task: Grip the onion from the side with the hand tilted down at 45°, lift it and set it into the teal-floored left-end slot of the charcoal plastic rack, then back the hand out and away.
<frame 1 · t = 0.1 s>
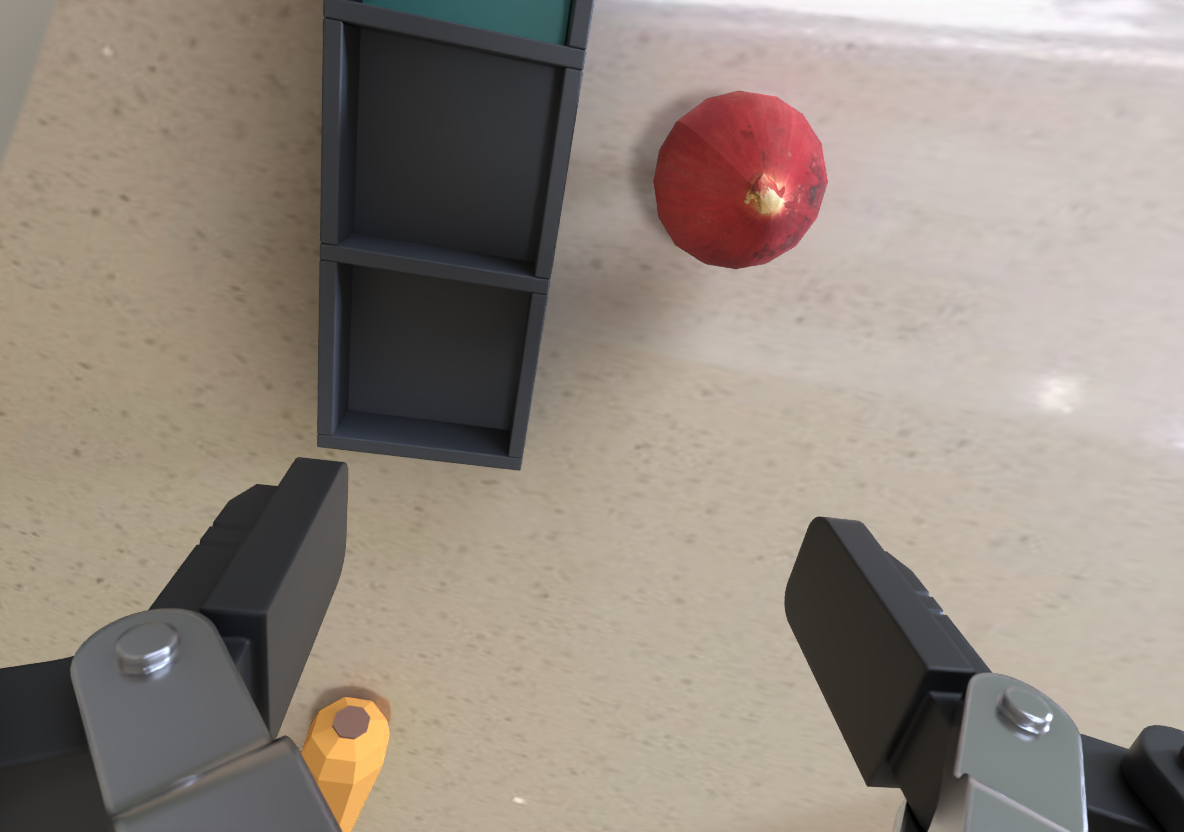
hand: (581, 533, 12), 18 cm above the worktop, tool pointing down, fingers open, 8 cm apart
rack: (456, 152, 26), on the worktop
onion: (711, 171, 27), on the worktop
carrot: (329, 800, 41), on the worktop
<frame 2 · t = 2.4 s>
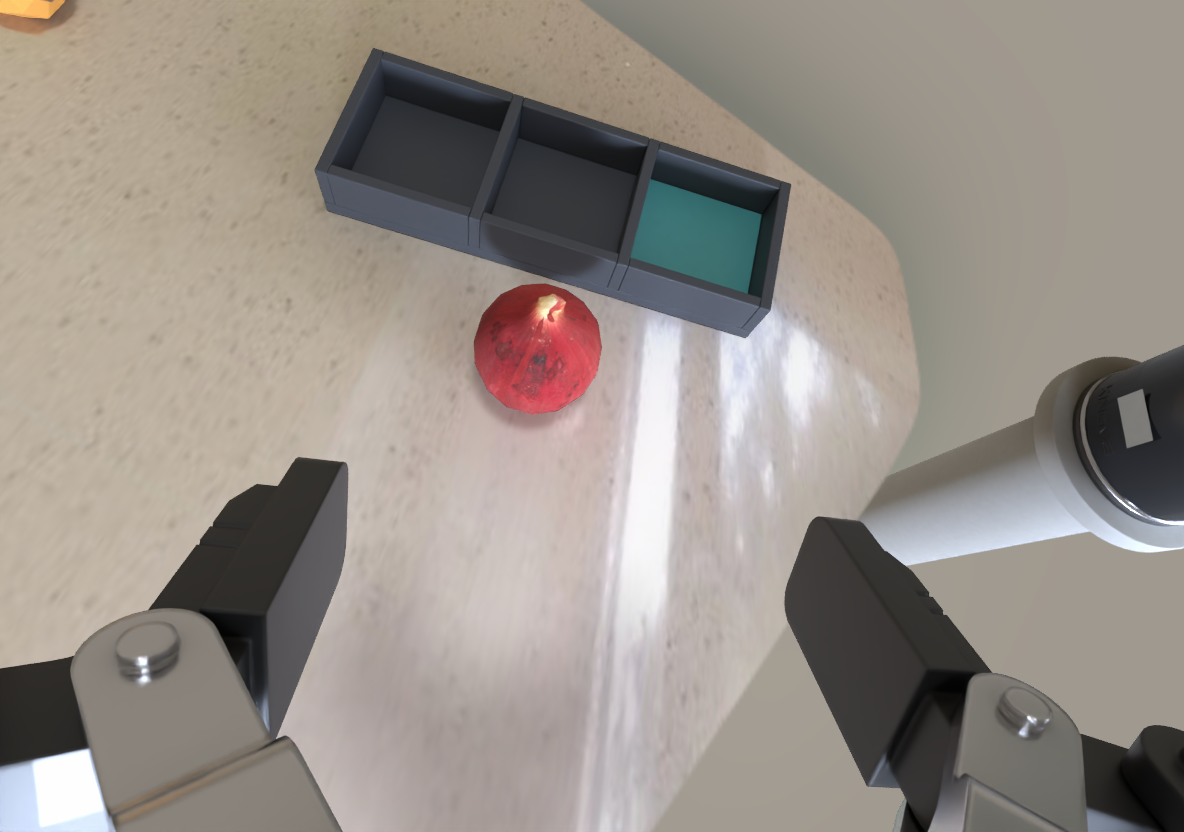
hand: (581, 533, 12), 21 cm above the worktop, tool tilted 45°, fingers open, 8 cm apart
rack: (560, 215, 38), on the worktop
onion: (530, 380, 35), on the worktop
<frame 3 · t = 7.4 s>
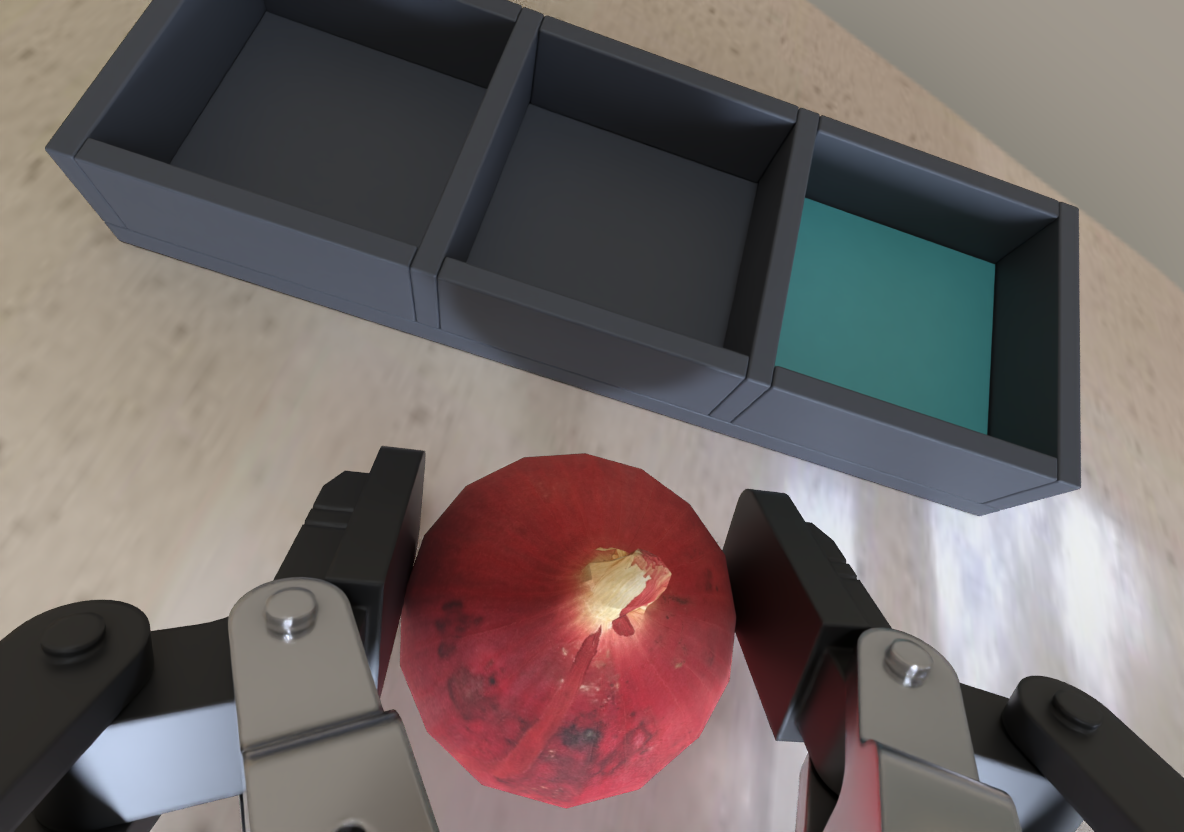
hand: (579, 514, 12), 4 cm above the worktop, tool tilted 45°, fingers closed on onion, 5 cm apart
rack: (609, 257, 19), on the worktop
onion: (542, 626, 16), on the worktop, touching gripper
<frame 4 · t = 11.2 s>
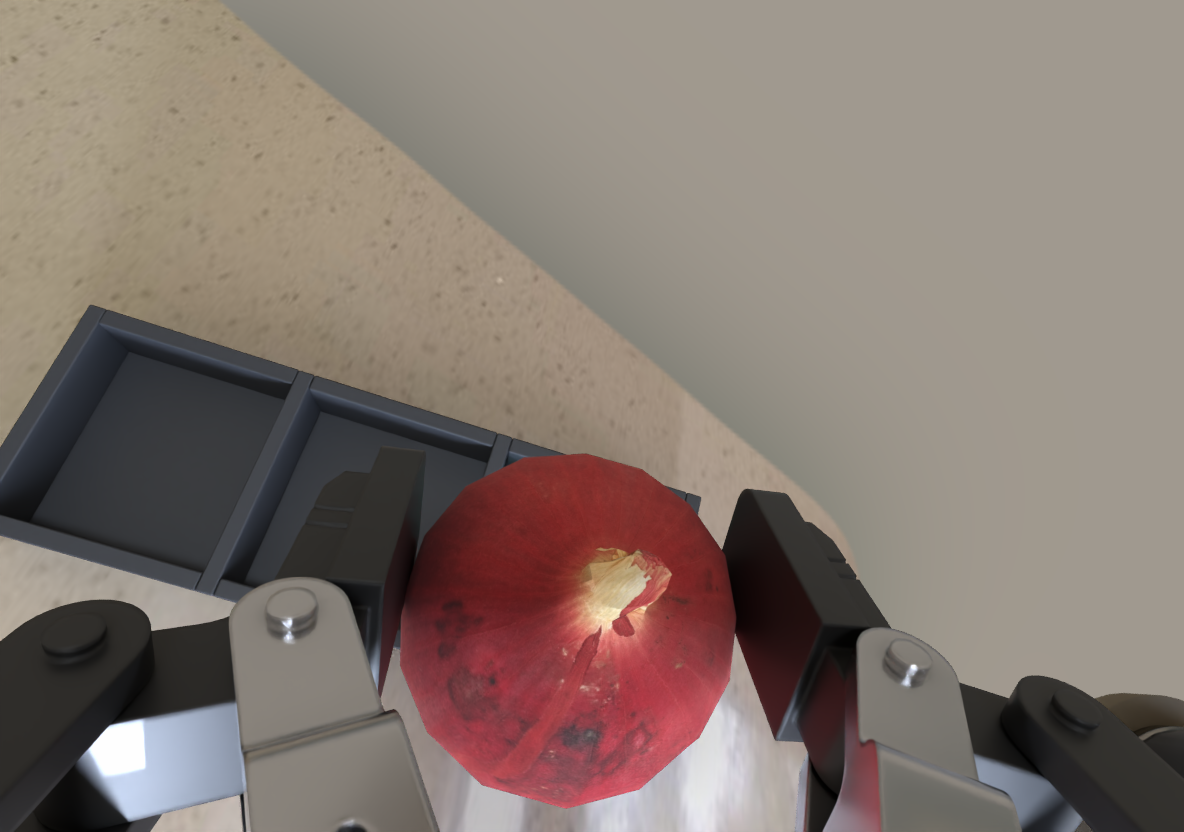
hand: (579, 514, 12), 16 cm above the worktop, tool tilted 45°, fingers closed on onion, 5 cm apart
rack: (376, 524, 27), on the worktop
onion: (542, 626, 16), point 11 cm above the worktop, touching gripper
when the fingers open (5 cm above the worktop, at t = 15.0 s): onion stays where it is, resting on rack.
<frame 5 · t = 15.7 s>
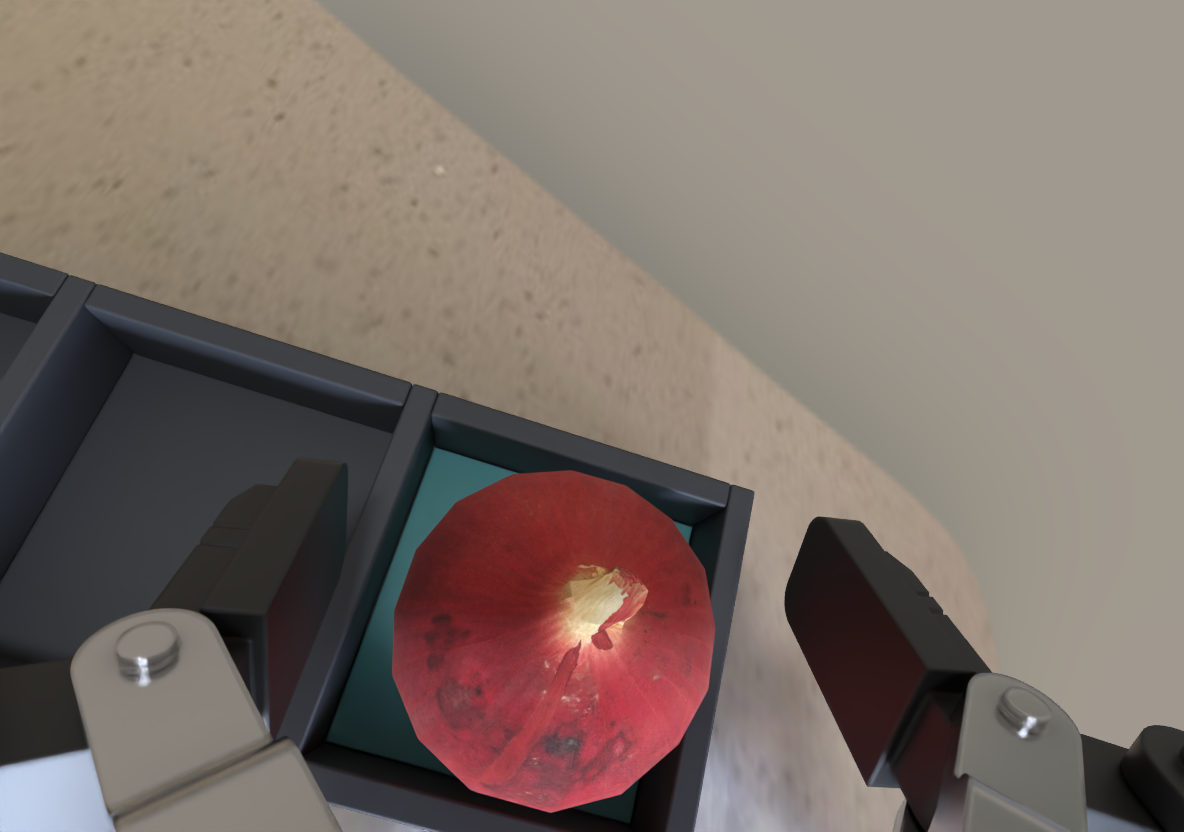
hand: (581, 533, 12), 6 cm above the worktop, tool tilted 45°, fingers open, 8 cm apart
rack: (221, 537, 16), on the worktop
onion: (532, 634, 16), point 1 cm above the worktop, touching rack
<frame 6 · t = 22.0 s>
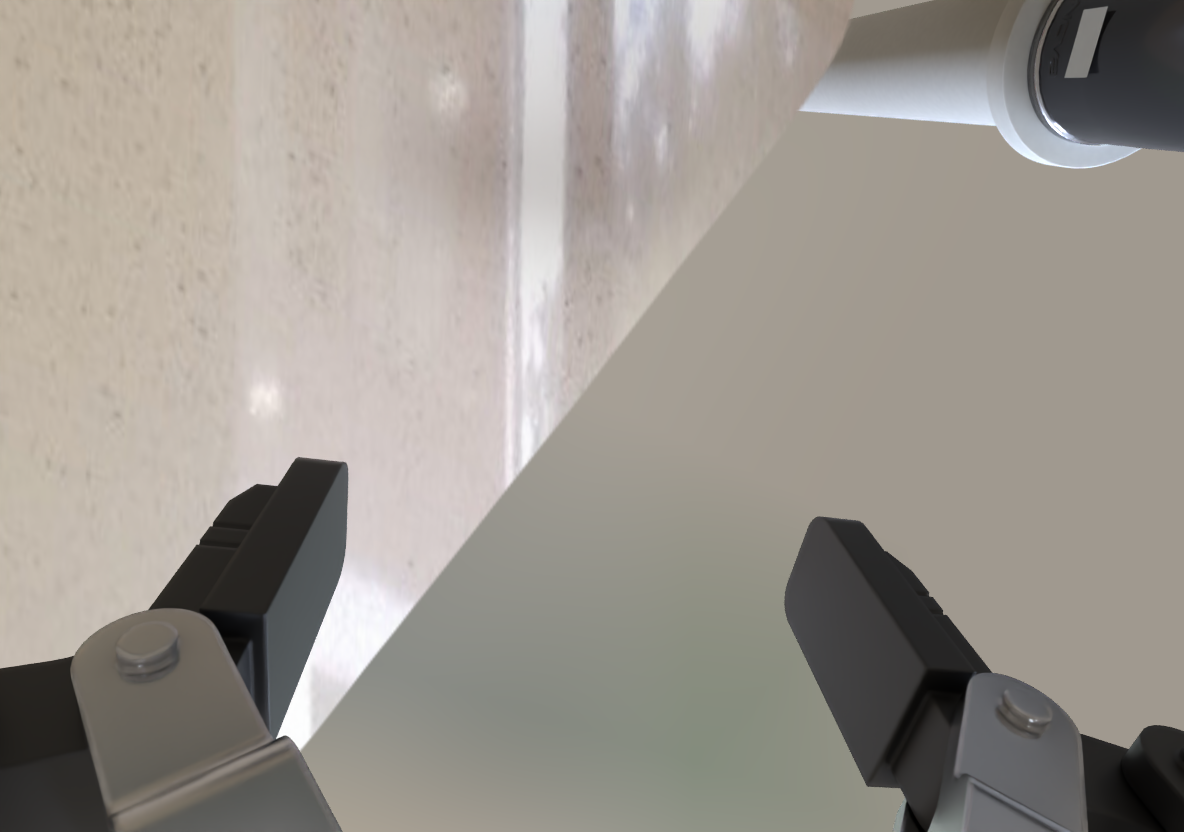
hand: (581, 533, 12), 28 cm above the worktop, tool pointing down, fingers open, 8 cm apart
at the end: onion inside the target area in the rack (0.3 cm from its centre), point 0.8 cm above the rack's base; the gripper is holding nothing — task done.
